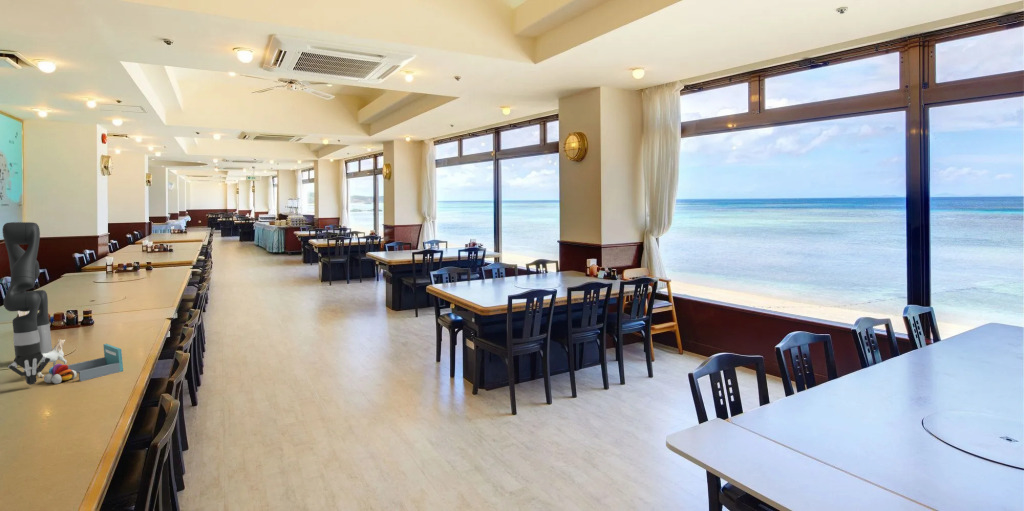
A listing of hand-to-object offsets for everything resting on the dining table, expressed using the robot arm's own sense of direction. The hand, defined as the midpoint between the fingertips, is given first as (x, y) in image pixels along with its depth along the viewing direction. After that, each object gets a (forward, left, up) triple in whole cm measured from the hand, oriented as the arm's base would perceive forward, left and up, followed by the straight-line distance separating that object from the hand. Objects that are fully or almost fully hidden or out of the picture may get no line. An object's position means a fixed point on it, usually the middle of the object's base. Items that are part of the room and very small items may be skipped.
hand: (31, 384), depth 207 cm
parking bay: (0, +21, -2) cm, 21 cm away
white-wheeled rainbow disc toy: (0, +9, -2) cm, 9 cm away
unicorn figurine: (-18, +10, -2) cm, 21 cm away
